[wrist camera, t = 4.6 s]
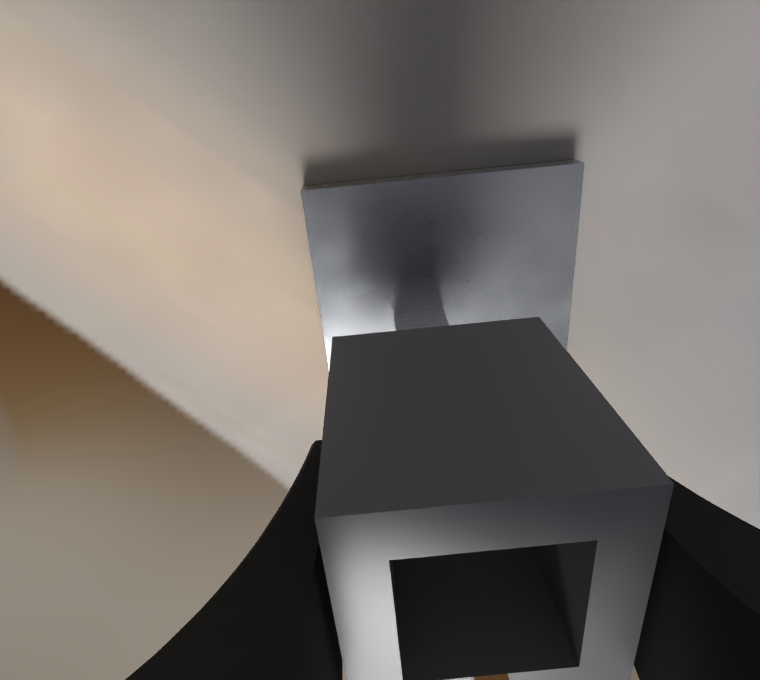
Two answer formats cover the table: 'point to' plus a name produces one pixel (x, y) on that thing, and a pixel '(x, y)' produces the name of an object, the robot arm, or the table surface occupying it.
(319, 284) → the plate
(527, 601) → the hollow square housing
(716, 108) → the table surface
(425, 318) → the grey square post
